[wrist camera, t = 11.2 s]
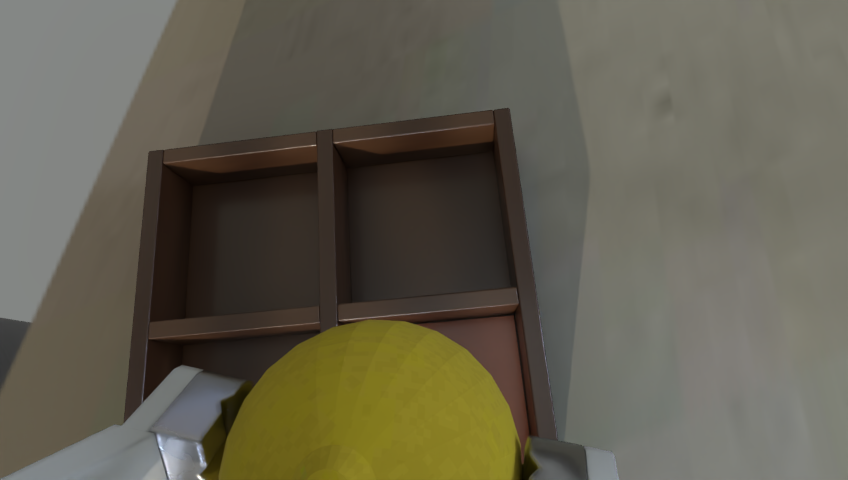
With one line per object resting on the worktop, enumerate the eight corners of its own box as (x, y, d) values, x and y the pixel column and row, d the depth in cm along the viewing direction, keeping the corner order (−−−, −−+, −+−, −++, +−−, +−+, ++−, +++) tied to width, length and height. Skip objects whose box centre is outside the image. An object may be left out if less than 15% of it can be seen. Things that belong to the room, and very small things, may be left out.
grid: (161, 537, 24) (109, 561, 20) (185, 178, 29) (148, 151, 26) (557, 512, 22) (572, 532, 19) (505, 141, 28) (509, 107, 25)
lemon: (422, 607, 13) (339, 921, 5) (270, 454, 14) (30, 524, 7) (551, 427, 14) (643, 469, 6) (396, 301, 15) (314, 207, 8)
